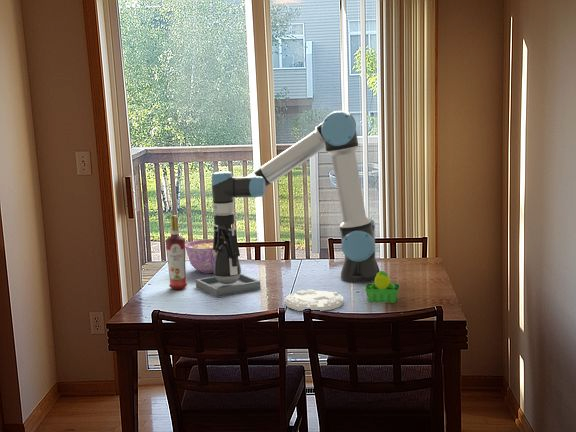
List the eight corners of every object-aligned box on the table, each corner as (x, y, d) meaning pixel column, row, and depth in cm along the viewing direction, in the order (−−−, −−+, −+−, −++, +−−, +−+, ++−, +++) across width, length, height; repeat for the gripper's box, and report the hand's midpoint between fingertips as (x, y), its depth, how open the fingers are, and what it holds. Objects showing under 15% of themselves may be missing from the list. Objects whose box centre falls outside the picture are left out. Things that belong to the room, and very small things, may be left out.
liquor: (168, 291, 273) (163, 218, 268) (168, 286, 280) (163, 214, 275) (188, 290, 274) (183, 216, 269) (187, 285, 281) (183, 213, 277)
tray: (260, 288, 271) (260, 281, 271) (216, 297, 262) (216, 289, 262) (238, 279, 287) (237, 272, 286) (196, 287, 278) (195, 279, 277)
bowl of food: (228, 276, 292) (226, 248, 290) (180, 276, 295) (178, 248, 294) (239, 265, 311) (238, 238, 309) (194, 265, 315) (193, 238, 313)
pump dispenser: (208, 283, 274) (206, 243, 271) (228, 277, 281) (226, 238, 279) (226, 287, 267) (224, 247, 264) (247, 281, 274) (245, 241, 272)
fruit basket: (400, 297, 252) (400, 266, 250) (398, 305, 244) (397, 272, 242) (367, 297, 255) (366, 265, 253) (364, 304, 246) (363, 272, 244)
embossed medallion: (350, 310, 242) (350, 301, 241) (292, 316, 238) (292, 307, 237) (334, 294, 261) (334, 286, 261) (280, 299, 257) (280, 291, 257)
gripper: (201, 211, 278) (205, 268, 281) (228, 218, 258) (232, 279, 262) (219, 209, 281) (222, 265, 285) (247, 216, 262) (250, 276, 266)
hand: (227, 272), depth 273 cm, fingers open, 10 cm apart
